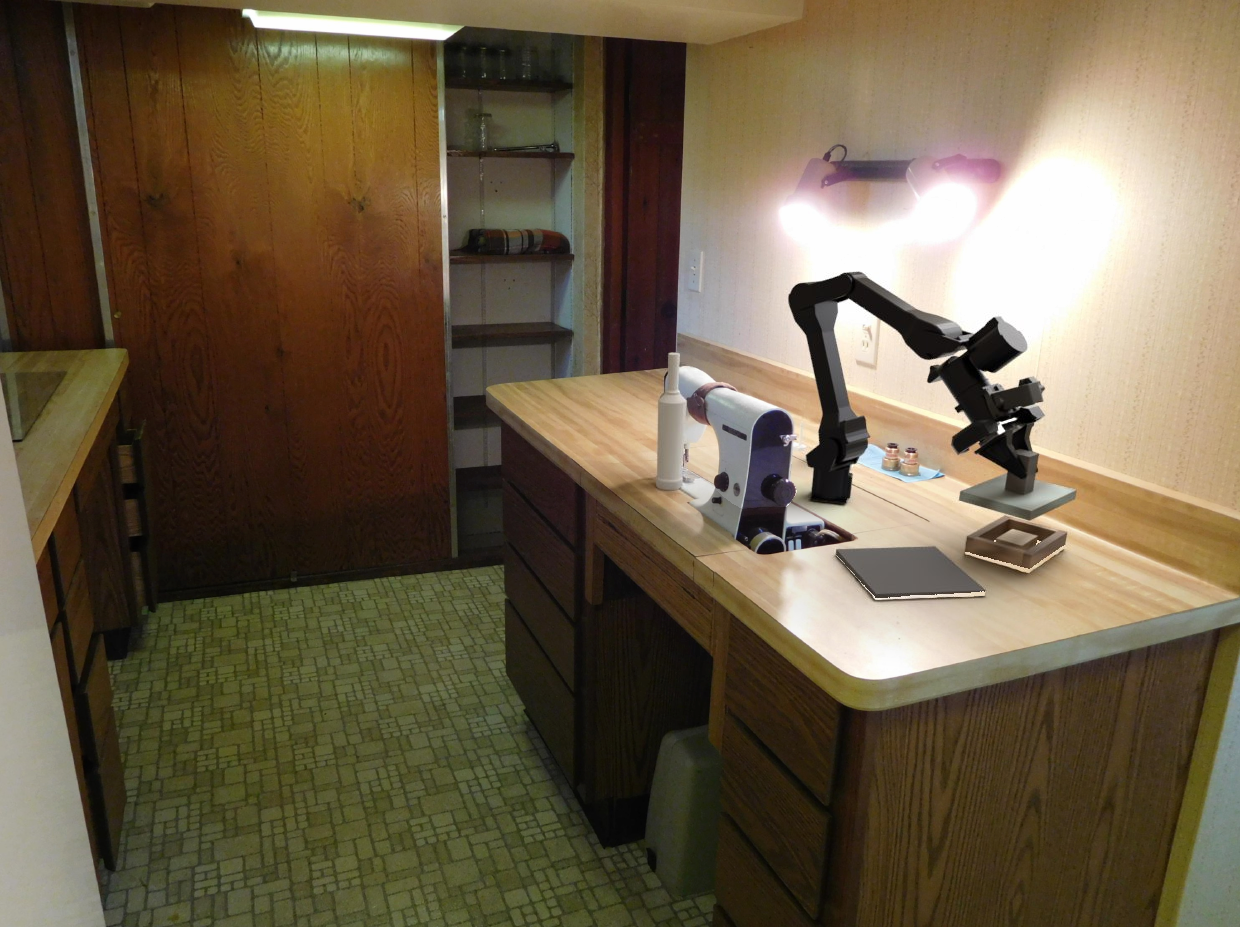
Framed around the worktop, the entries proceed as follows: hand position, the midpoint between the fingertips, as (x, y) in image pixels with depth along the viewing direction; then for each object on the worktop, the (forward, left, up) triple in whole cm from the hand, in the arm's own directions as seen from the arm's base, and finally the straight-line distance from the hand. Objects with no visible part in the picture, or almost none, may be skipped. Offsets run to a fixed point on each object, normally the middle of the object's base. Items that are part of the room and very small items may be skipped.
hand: (1030, 475), depth 139 cm
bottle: (-59, +15, -14) cm, 62 cm away
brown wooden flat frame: (0, +3, -13) cm, 14 cm away
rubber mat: (-16, -13, -13) cm, 25 cm away
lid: (-1, +1, -4) cm, 5 cm away
